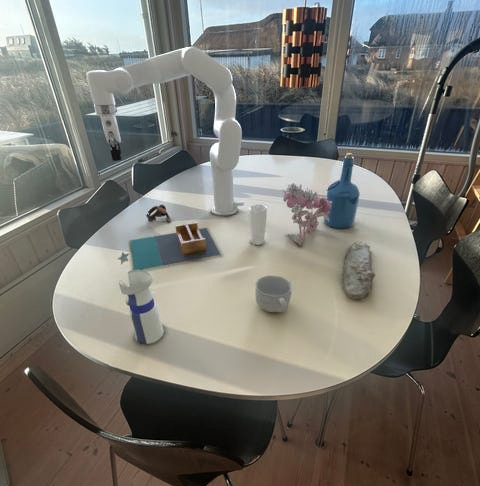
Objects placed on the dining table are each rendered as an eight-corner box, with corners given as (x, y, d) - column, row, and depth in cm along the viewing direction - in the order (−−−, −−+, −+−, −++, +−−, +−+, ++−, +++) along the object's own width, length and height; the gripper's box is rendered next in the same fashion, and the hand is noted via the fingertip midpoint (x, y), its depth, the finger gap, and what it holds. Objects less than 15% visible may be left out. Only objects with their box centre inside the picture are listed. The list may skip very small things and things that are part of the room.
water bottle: (126, 341, 88) (102, 264, 74) (145, 320, 94) (125, 246, 80) (152, 348, 85) (132, 271, 71) (169, 327, 92) (154, 252, 78)
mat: (206, 229, 142) (206, 227, 142) (220, 255, 123) (220, 254, 123) (131, 241, 134) (130, 240, 134) (134, 272, 115) (134, 270, 115)
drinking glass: (267, 239, 133) (268, 205, 125) (263, 247, 128) (264, 212, 119) (252, 237, 135) (252, 203, 126) (247, 245, 130) (246, 210, 121)
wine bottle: (355, 219, 147) (369, 151, 130) (351, 231, 137) (365, 159, 120) (325, 214, 152) (335, 148, 135) (319, 226, 142) (328, 156, 125)
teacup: (253, 295, 103) (253, 275, 98) (286, 293, 103) (288, 272, 99) (259, 326, 91) (259, 304, 87) (296, 323, 92) (299, 301, 88)
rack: (197, 233, 137) (196, 221, 134) (206, 251, 125) (205, 239, 122) (176, 237, 135) (175, 225, 132) (183, 255, 123) (181, 243, 120)
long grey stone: (372, 252, 125) (346, 249, 128) (374, 239, 123) (347, 237, 126) (373, 304, 97) (339, 299, 100) (376, 289, 95) (340, 284, 98)
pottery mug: (169, 226, 146) (158, 213, 141) (154, 233, 150) (141, 221, 144) (175, 209, 154) (163, 197, 148) (159, 216, 157) (148, 204, 152)
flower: (346, 244, 125) (345, 178, 121) (293, 249, 119) (291, 179, 115) (319, 242, 144) (317, 185, 141) (272, 246, 138) (269, 186, 134)
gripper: (116, 112, 113) (127, 161, 123) (116, 106, 127) (126, 151, 137) (93, 114, 112) (106, 164, 121) (96, 107, 125) (107, 152, 135)
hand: (117, 157), depth 129 cm, fingers open, 9 cm apart
